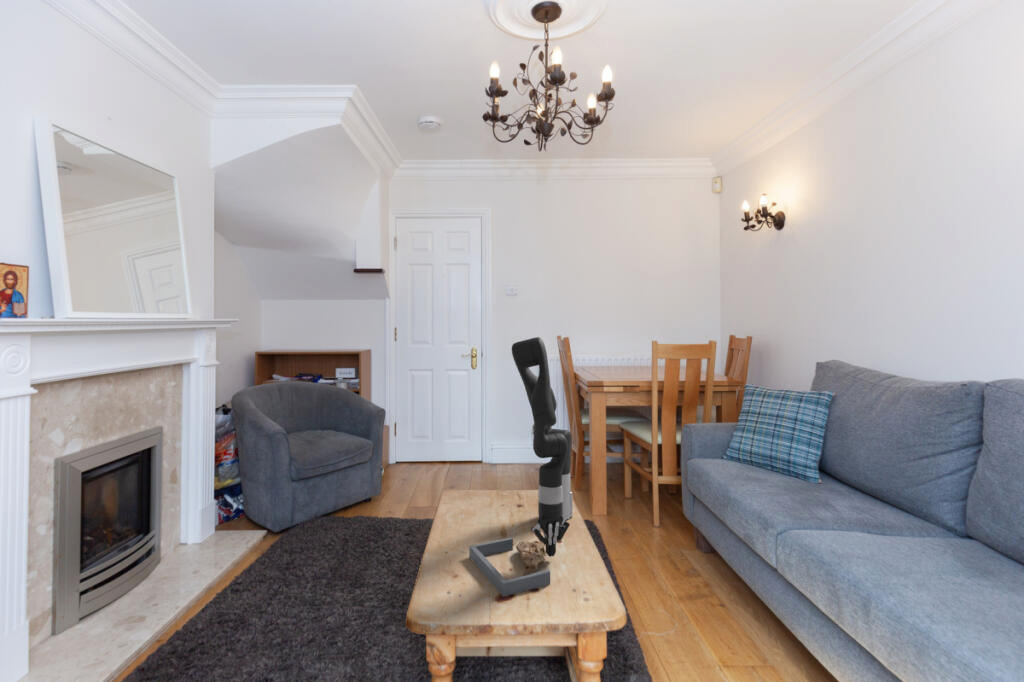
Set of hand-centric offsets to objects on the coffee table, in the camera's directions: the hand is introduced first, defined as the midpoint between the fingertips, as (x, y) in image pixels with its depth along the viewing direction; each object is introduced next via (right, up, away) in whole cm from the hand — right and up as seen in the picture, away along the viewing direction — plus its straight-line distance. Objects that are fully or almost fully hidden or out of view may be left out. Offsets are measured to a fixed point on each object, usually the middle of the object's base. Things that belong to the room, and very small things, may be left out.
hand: (550, 555), depth 147 cm
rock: (-5, -2, -1) cm, 5 cm away
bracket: (-13, -2, -6) cm, 15 cm away
